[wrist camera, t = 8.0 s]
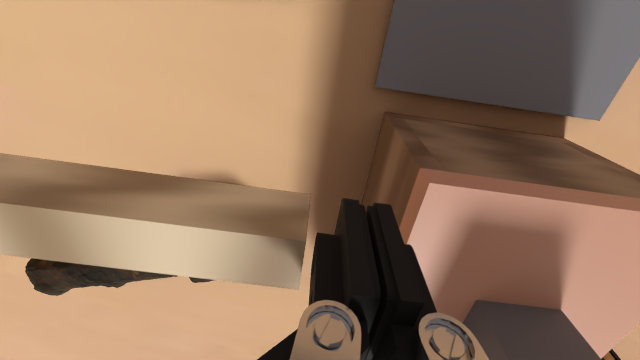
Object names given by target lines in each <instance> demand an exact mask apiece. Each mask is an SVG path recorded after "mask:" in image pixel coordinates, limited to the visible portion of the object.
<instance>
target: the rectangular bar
mask: <svg viewBox="0 0 640 360" xmlns="http://www.w3.org/2000/svg"><path fill="white" fill-rule="evenodd" d="M310 198H311V194H304V193H296V192H289V191H281V190H274V189H266V188H259V187H251V186H243V185H236V184H228V183H221V182H213V181H206V180H198V179H191V178H183V177H176V176H168V175H161V174H153V173H146V172H138V171H131V170H123V169H116V168H108V167H101V166H93V165H85V164H78V163H70V162H63V161H55V160H48V159H40V158H33V157H25V156H18V155H10V154H3V153H0V255H8V256H17V257H25V258H34V259H42V260H51V261H59V262H68V263H76V264H84V265H93V266H101V267H110V268H118V269H127V270H135V271H144V272H152V273H161V274H169V275H177V276H186V277H194V278H203V279H211V280H220V281H228V282H237V283H245V284H253V285H262V286H270V287H279V288H287V289H296V290H299V284H300V278H301V271H302V264H303V258H304V251H305V244H306V236H307V227H308V217H309V208H310Z"/></svg>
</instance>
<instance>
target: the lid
mask: <svg viewBox="0 0 640 360" xmlns="http://www.w3.org/2000/svg"><path fill="white" fill-rule="evenodd" d="M399 230H400V233H401V235H402V238H403V241H404V244H410V245H411V246H412V247H413V249H414V252H415V254H416V257H417V260H418V262H419V265H420V268H421V270H422V273H423V276H424V278H425V281H426V284H427V286H428V289H429V292H430V294H431V297H432V300H433V302H434V305H435V308H436V310H437V313H442V314H446V315H449V316H451V317H453V318H455V319H457V320H458V321H460V322H462V323H463V324H464V325H465V326H466V327H467V328H468V329H469V330H470V331H471V332H472V333H473V335H474V336H475V337H476V339H477V340H478V342H479V344H480V345H481V347H482V348H483V350H484V352H485V353H486V355H487V357H488V358H489V360H601V358H602V357H603V356H605V355H606V354H607V353H608V352H609V351H610V350H611V349H612V348H613V347H614V346H615V345H616V344H618V343H619V342H620V341H621V340H622V339H623V338H624V337H625V336H626V335H627V334H628V333H629V332H631V331H632V330H633V329H634V328H635V327H636V326H637V325H638V324H639V323H640V198H633V197H626V196H619V195H612V194H605V193H597V192H590V191H583V190H576V189H569V188H561V187H554V186H547V185H540V184H533V183H526V182H518V181H511V180H504V179H497V178H490V177H482V176H475V175H468V174H461V173H454V172H447V171H439V170H432V169H425V168H420V170H419V173H418V175H417V178H416V181H415V184H414V187H413V190H412V193H411V196H410V199H409V201H408V204H407V207H406V210H405V213H404V216H403V219H402V222H401V225H400V228H399Z"/></svg>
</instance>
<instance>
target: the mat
mask: <svg viewBox="0 0 640 360" xmlns="http://www.w3.org/2000/svg"><path fill="white" fill-rule="evenodd" d="M639 57H640V0H394V2H393V7H392V11H391V16H390V20H389V25H388V29H387V34H386V38H385V42H384V47H383V51H382V56H381V60H380V65H379V69H378V74H377V78H376V83H375V86H376V87H378V88H385V89H392V90H398V91H405V92H412V93H418V94H425V95H431V96H438V97H445V98H451V99H458V100H465V101H471V102H478V103H485V104H491V105H498V106H505V107H511V108H518V109H525V110H531V111H538V112H544V113H551V114H558V115H564V116H571V117H578V118H584V119H591V120H598V121H600V119H601V118H602V116H603V114H604V113H605V111H606V110H607V108H608V107H609V105H610V103H611V102H612V100H613V99H614V97H615V95H616V94H617V92H618V91H619V89H620V87H621V86H622V84H623V83H624V81H625V80H626V78H627V76H628V75H629V73H630V72H631V70H632V68H633V67H634V65H635V64H636V62H637V61H638V59H639Z"/></svg>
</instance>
